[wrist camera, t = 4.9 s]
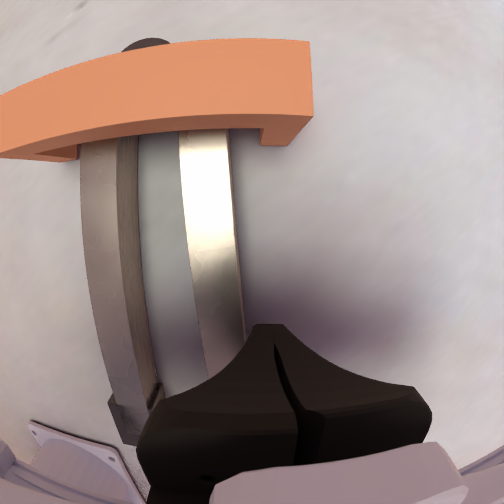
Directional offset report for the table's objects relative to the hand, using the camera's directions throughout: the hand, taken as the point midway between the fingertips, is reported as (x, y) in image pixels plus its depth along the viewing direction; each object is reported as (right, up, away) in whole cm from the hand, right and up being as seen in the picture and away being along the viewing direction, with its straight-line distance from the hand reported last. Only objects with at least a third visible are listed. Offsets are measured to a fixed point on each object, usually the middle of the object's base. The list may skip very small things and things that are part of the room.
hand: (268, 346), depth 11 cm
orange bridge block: (-4, +8, -1) cm, 9 cm away
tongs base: (-5, +3, +1) cm, 6 cm away
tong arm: (-2, +2, +1) cm, 2 cm away
